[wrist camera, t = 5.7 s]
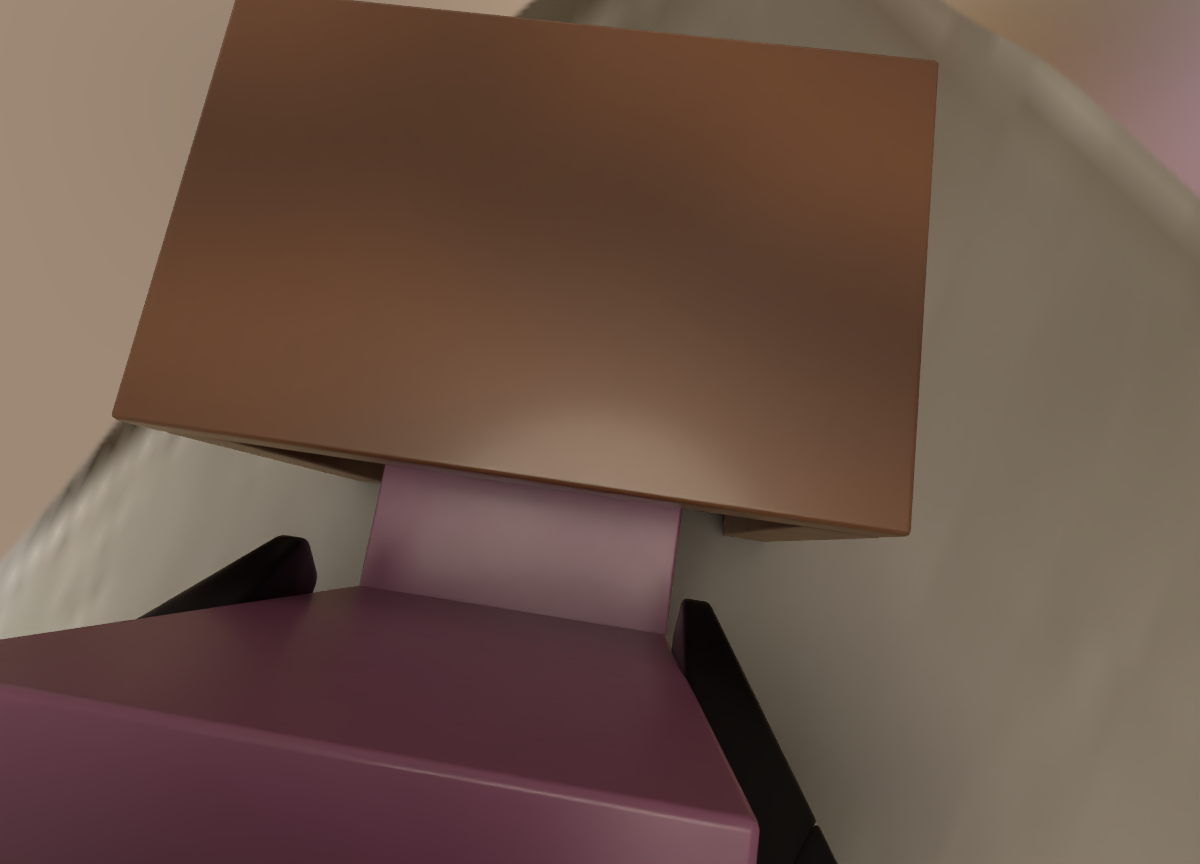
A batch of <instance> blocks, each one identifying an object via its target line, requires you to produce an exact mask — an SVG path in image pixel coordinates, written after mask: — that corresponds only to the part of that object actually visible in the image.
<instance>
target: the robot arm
mask: <svg viewBox="0 0 1200 864" xmlns="http://www.w3.org/2000/svg"><path fill="white" fill-rule="evenodd" d="M316 580H317V572H316V568H315V564H314V560H313V556H312V552H311V549H310V545H309V542H308V541H307V540H306V539H304V538H300V537H294V536H287V535H281V536H278V537H276V538H274V539H272V540H270V541H269V542H267V543H265V544H264V545H262V546H260V547H258V548H257V549H255V550H253V551H252V552H250V553H248V554H246V555H245V556H243V557H241V558H240V559H238V560H236V561H235V562H233V563H231V564H229V565H228V566H226V567H224V568H223V569H221V570H219V571H218V572H216V573H214V574H212V575H211V576H209V577H207V578H206V579H204V580H202V581H201V582H199V583H197V584H195V585H194V586H192V587H190V588H189V589H187V590H185V591H184V592H182V593H180V594H178V595H177V596H175V597H173V598H172V599H170V600H168V601H167V602H165V603H163V604H161V605H160V606H158V607H156V608H155V609H153V610H151V611H150V612H148V613H146V614H144V615H143V616H141V617H139V618H138V619H142V618H148V617H155V616H162V615H168V614H175V613H181V612H188V611H195V610H201V609H208V608H215V607H221V606H228V605H235V604H241V603H248V602H255V601H261V600H268V599H275V598H281V597H288V596H295V595H301V594H308V593H313V590H314V588H315V585H316ZM672 653H673V655H674V657H675V659H676V661H677V663H678V665H679V667H680V669H681V671H682V673H683V674H684V676H685V677H686V679H687V681H688V683H689V685H690V687H691V689H692V691H693V693H694V695H695V697H696V699H697V701H698V703H699V705H700V707H701V709H702V711H703V713H704V715H705V717H706V719H707V721H708V723H709V725H710V727H711V729H712V731H713V733H714V735H715V737H716V739H717V741H718V743H719V745H720V747H721V749H722V751H723V753H724V755H725V757H726V759H727V761H728V763H729V765H730V767H731V769H732V771H733V773H734V775H735V777H736V779H737V781H738V783H739V785H740V787H741V789H742V791H743V793H744V795H745V797H746V799H747V801H748V803H749V805H750V807H751V809H752V811H753V813H754V815H755V817H756V819H757V822H758V826H759V830H760V833H759V843H758V854H757V864H838V863H837V861H836V859H835V858H834V856H833V853H832V851H831V849H830V847H829V845H828V843H827V841H826V839H825V837H824V835H823V833H822V831H821V829H820V827H819V826H817V825H815V826H814V824H815V822H816V820H815V817H814V815H813V813H812V811H811V809H810V807H809V805H808V803H807V801H806V799H805V797H804V795H803V793H802V791H801V789H800V787H799V784H798V782H797V780H796V778H795V776H794V774H793V772H792V770H791V768H790V766H789V764H788V762H787V760H786V758H785V756H784V754H783V752H782V750H781V748H780V746H779V744H778V742H777V740H776V738H775V735H774V733H773V731H772V729H771V727H770V725H769V723H768V721H767V719H766V717H765V715H764V713H763V711H762V709H761V707H760V705H759V703H758V701H757V699H756V697H755V695H754V693H753V691H752V689H751V686H750V684H749V682H748V680H747V678H746V676H745V674H744V672H743V670H742V668H741V666H740V664H739V662H738V660H737V658H736V656H735V654H734V652H733V650H732V648H731V646H730V644H729V642H728V640H727V637H726V635H725V633H724V631H723V629H722V627H721V625H720V623H719V621H718V619H717V617H716V615H715V613H714V611H713V609H712V607H711V605H710V604H709V603H707V602H705V601H698V600H692V599H684V600H683V601H682V603H681V607H680V611H679V615H678V619H677V623H676V627H675V631H674V637H673V645H672ZM813 826H814V827H813Z"/></svg>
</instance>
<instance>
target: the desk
mask: <svg viewBox="0 0 1200 864" xmlns="http://www.w3.org/2000/svg"><path fill="white" fill-rule="evenodd" d="M937 79H938V62H937V61H935V60H926V59H916V58H906V57H896V56H887V55H877V54H867V53H858V52H848V51H838V50H829V49H819V48H809V47H799V46H790V45H780V44H770V43H761V42H751V41H741V40H732V39H722V38H712V37H703V36H693V35H683V34H673V33H664V32H654V31H644V30H635V29H625V28H615V27H606V26H596V25H586V24H576V23H567V22H557V21H547V20H538V19H528V18H518V17H509V16H499V15H489V14H479V13H470V12H460V11H450V10H441V9H431V8H421V7H411V6H402V5H392V4H382V3H373V2H363V1H353V0H235V3H234V7H233V10H232V13H231V17H230V20H229V24H228V27H227V30H226V33H225V37H224V40H223V43H222V47H221V50H220V53H219V57H218V60H217V63H216V67H215V70H214V73H213V77H212V80H211V84H210V87H209V90H208V94H207V97H206V101H205V104H204V107H203V110H202V114H201V117H200V121H199V124H198V127H197V130H196V134H195V137H194V140H193V144H192V147H191V151H190V154H189V157H188V161H187V164H186V167H185V171H184V174H183V177H182V181H181V184H180V187H179V191H178V194H177V197H176V201H175V204H174V207H173V211H172V214H171V217H170V221H169V225H168V228H167V231H166V234H165V238H164V241H163V245H162V248H161V251H160V254H159V258H158V261H157V265H156V268H155V271H154V274H153V278H152V281H151V284H150V288H149V292H148V294H147V298H146V301H145V305H144V308H143V311H142V315H141V318H140V321H139V325H138V328H137V331H136V335H135V338H134V341H133V345H132V348H131V352H130V355H129V358H128V361H127V365H126V368H125V372H124V375H123V378H122V382H121V385H120V388H119V392H118V395H117V399H116V402H115V405H114V408H113V412H112V417H114V418H115V419H117V420H119V421H123V422H127V423H131V424H135V425H139V426H143V427H147V428H151V429H155V430H159V431H165V432H168V433H171V434H175V435H179V436H183V437H187V438H191V439H195V440H199V441H203V442H207V443H211V444H215V445H219V446H223V447H227V448H231V449H234V450H238V451H242V452H246V453H250V454H254V455H258V456H262V457H266V458H270V459H274V460H278V461H282V462H286V463H290V464H294V465H298V466H302V467H306V468H310V469H314V470H318V471H322V472H326V473H330V474H334V475H338V476H342V477H346V478H350V479H354V480H359V481H365V482H372V483H379V484H381V482H382V477H383V473H384V468H385V464H388V465H394V466H401V467H408V468H415V469H421V470H428V471H435V472H442V473H448V474H455V475H462V476H469V477H475V478H482V479H489V480H495V481H502V482H509V483H516V484H522V485H529V486H536V487H543V488H549V489H556V490H563V491H570V492H576V493H583V494H590V495H597V496H603V497H610V498H617V499H623V500H630V501H637V502H644V503H650V504H657V505H664V506H671V507H677V508H684V509H691V510H698V511H704V512H711V513H718V514H725V517H724V526H723V535H724V536H731V537H737V538H744V539H751V540H757V541H764V542H769V541H798V540H828V539H857V538H878V537H903V536H907V535H909V533H910V531H911V515H912V499H913V482H914V465H915V448H916V431H917V415H918V398H919V381H920V364H921V348H922V331H923V314H924V297H925V280H926V264H927V247H928V230H929V213H930V197H931V180H932V163H933V146H934V129H935V113H936V96H937Z"/></svg>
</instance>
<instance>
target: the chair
mask: <svg viewBox="0 0 1200 864" xmlns="http://www.w3.org/2000/svg"><path fill="white" fill-rule="evenodd" d="M681 513H682V508H677V507H671V506H664V505H657V504H650V503H644V502H637V501H630V500H623V499H617V498H610V497H603V496H597V495H590V494H583V493H576V492H570V491H563V490H556V489H549V488H543V487H536V486H529V485H522V484H516V483H509V482H502V481H495V480H489V479H482V478H475V477H469V476H462V475H455V474H448V473H442V472H435V471H428V470H421V469H415V468H408V467H401V466H394V465H388V464H385V468H384V473H383V477H382V482H381V487H380V491H379V496H378V501H377V505H376V510H375V515H374V519H373V524H372V529H371V533H370V538H369V543H368V547H367V552H366V557H365V561H364V566H363V571H362V575H361V580H360V584H359V586H355V587H348V588H341V589H335V590H328V591H321V592H315V593H308V594H301V595H295V596H288V597H281V598H275V599H268V600H261V601H255V602H248V603H241V604H235V605H228V606H221V607H215V608H208V609H201V610H195V611H188V612H181V613H175V614H168V615H162V616H155V617H148V618H142V619H135V620H128V621H122V622H115V623H108V624H102V625H95V626H88V627H82V628H75V629H68V630H62V631H55V632H48V633H42V634H35V635H28V636H22V637H15V638H8V639H2V640H0V864H757V854H758V843H759V833H760V830H759V826H758V822H757V819H756V817H755V815H754V813H753V811H752V809H751V807H750V805H749V803H748V801H747V799H746V797H745V795H744V793H743V791H742V789H741V787H740V785H739V783H738V781H737V779H736V777H735V775H734V773H733V771H732V769H731V767H730V765H729V763H728V761H727V759H726V757H725V755H724V753H723V751H722V749H721V747H720V745H719V743H718V741H717V739H716V737H715V735H714V733H713V731H712V729H711V727H710V725H709V723H708V721H707V719H706V717H705V715H704V713H703V711H702V709H701V707H700V705H699V703H698V701H697V699H696V697H695V695H694V693H693V691H692V689H691V687H690V685H689V683H688V681H687V679H686V677H685V676H684V674H683V673H682V671H681V669H680V667H679V665H678V663H677V661H676V659H675V657H674V655H673V653H672V649H671V647H670V645H669V643H668V641H667V639H666V631H667V623H668V615H669V607H670V600H671V592H672V584H673V576H674V568H675V560H676V552H677V544H678V536H679V528H680V521H681Z"/></svg>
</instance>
